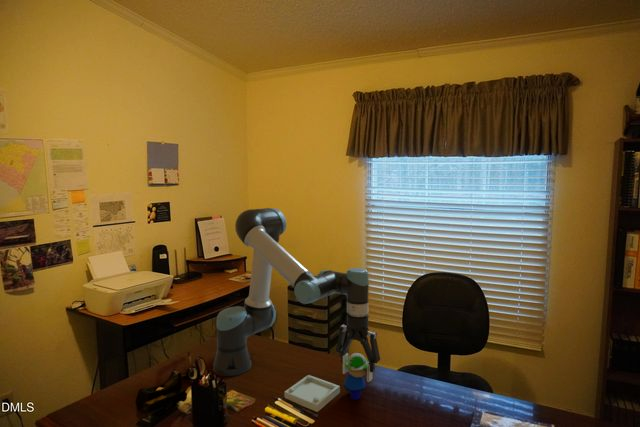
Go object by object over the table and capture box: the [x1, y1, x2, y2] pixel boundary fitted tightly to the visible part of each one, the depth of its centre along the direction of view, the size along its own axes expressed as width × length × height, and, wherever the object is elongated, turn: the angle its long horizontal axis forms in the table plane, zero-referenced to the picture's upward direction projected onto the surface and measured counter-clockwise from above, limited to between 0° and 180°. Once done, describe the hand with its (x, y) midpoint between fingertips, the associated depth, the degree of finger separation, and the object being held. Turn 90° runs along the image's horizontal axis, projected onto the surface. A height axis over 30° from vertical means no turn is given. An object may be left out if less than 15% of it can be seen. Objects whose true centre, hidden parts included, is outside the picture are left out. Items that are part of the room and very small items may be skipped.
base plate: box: [284, 374, 341, 413], centre depth 128 cm, size 14×14×3 cm
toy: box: [343, 352, 369, 401], centre depth 128 cm, size 9×9×15 cm
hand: (357, 376), depth 128 cm, fingers closed on toy, 9 cm apart
